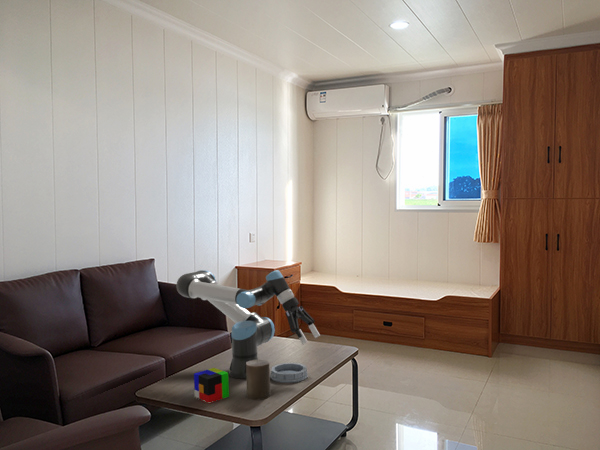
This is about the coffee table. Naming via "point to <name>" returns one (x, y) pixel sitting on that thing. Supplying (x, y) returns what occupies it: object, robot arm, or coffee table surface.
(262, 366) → the pillar candle
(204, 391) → the puzzle toy
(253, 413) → the coffee table surface
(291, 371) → the candle dish
